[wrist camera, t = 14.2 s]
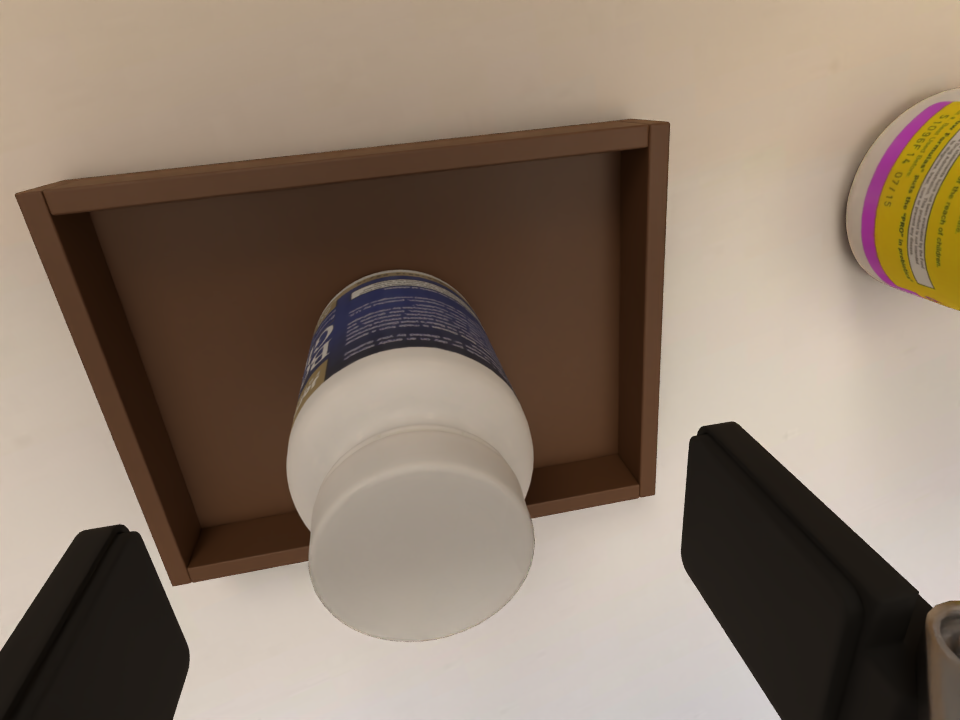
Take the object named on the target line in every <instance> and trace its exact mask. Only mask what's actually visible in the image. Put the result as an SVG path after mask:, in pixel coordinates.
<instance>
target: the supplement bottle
mask: <svg viewBox="0 0 960 720" xmlns="http://www.w3.org/2000/svg"><path fill="white" fill-rule="evenodd" d="M846 228H847V235H848V241H849V244H850V247H851V250H852V252H853V255H854V256H855V258H856V260H857V262H858V263H859V264H860V266H861V267H862V268H863V269H864V270H865V271H866V272H867V273H868V274H869V275H870V276H872V277H873V278H875V279H876V280H878V281H880V282H882V283H884V284H886V285H889V286H891V287H894V288H896V289H899V290H902V291H904V292H907V293H910V294H913V295H916V296H919V297H922V298H924V299H927V300H930V301H933V302H936V303H939V304H941V305H944V306H947V307H949V308H953V309H956V310H959V311H960V88H955V89H951V90H947V91H943V92H941V93H938V94H935V95H933V96H931V97H928V98H926V99H924V100H922V101H921V102H919V103H917V104H916V105H914V106H912V107H911V108H909V109H908V110H906V111H905V112H904V113H902V114H901V115H900V116H899V117H898V118H896V119H895V120H894V121H893V122H892V123H891V124H890V125H889V126H888V127H887V128H886V129H885V130H884V131H883V132H882V133H881V134H880V136H879V137H878V138H877V139H876V141H875V142H874V143H873V145H872V146H871V147H870V149H869V150H868V152H867V153H866V155H865V157H864V159H863V160H862V162H861V164H860V166H859V168H858V171H857V173H856V175H855V178H854V180H853V183H852V186H851V189H850V193H849V197H848V202H847V210H846Z"/></svg>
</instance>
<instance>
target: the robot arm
mask: <svg viewBox="0 0 960 720" xmlns="http://www.w3.org/2000/svg"><path fill="white" fill-rule="evenodd" d="M681 557H682V562H683V565H684V568H685V570H686V572H687V574H688V575H689V577H690V578H691V580H692V581H693V583H694V584H695V586H696V588H697V589H698V591H699V592H700V594H701V595H702V597H703V598H704V600H705V601H706V603H707V605H708V606H709V608H710V609H711V611H712V612H713V614H714V615H715V617H716V619H717V620H718V622H719V623H720V625H721V626H722V628H723V629H724V631H725V633H726V634H727V636H728V637H729V639H730V640H731V642H732V643H733V645H734V646H735V648H736V650H737V651H738V653H739V654H740V656H741V657H742V659H743V660H744V662H745V664H746V665H747V667H748V668H749V670H750V671H751V673H752V674H753V676H754V678H755V679H756V681H757V682H758V684H759V685H760V687H761V688H762V690H763V691H764V693H765V695H766V696H767V698H768V699H769V701H770V702H771V704H772V705H773V707H774V709H775V710H776V712H777V713H778V715H779V716H780V718H781V719H782V720H960V601H948V602H945V603H941V604H938V605H936V606H935V607H934V608H933V607H932V606H930V605H929V604H928V603H927V602H926V601H925V600H924V599H923V598H922V597H921V596H920V595H919V591H918V590H917V589H915V588H914V587H913V586H912V585H911V584H910V583H909V582H908V581H907V580H906V579H905V578H904V577H903V576H901V575H900V574H899V573H898V572H897V571H896V570H895V569H894V568H893V567H892V566H891V565H890V564H889V563H887V562H886V561H885V560H884V559H883V558H882V557H881V556H880V555H879V554H878V553H877V552H876V551H875V550H873V549H872V548H871V547H870V546H869V545H868V544H867V543H866V542H865V541H864V540H863V539H862V538H860V537H859V536H858V535H857V534H856V533H855V532H854V531H853V530H852V529H851V528H850V527H849V526H848V525H846V524H845V523H844V522H843V521H842V520H841V519H840V518H839V517H838V516H837V515H836V514H835V513H834V512H832V511H831V510H830V509H829V508H828V507H827V506H826V505H825V504H824V503H823V502H822V501H821V500H820V499H818V498H817V497H816V496H815V495H814V494H813V493H812V492H811V491H810V490H809V489H808V488H807V487H806V486H804V485H803V484H802V483H801V482H800V481H799V480H798V479H797V478H796V477H795V476H794V475H793V474H792V473H790V472H789V471H788V470H787V469H786V468H785V467H784V466H783V465H782V464H781V463H780V462H779V461H777V460H776V459H775V458H774V457H773V456H772V455H771V454H770V453H769V452H768V451H767V450H766V449H765V448H763V447H762V446H761V445H760V444H759V443H758V442H757V441H756V440H755V439H754V438H753V437H752V436H751V435H749V434H748V433H747V432H746V431H745V430H744V429H743V428H742V427H741V426H740V425H739V424H737V423H736V422H725V423H720V424H714V425H708V426H703V427H701V428H700V429H699V431H698V433H697V436H693V437H691V439H690V442H689V452H688V465H687V478H686V491H685V504H684V517H683V530H682V543H681ZM189 661H190V654H189V648H188V645H187V642H186V640H185V638H184V635H183V633H182V631H181V628H180V626H179V624H178V621H177V619H176V616H175V614H174V612H173V609H172V607H171V605H170V602H169V600H168V598H167V595H166V593H165V591H164V588H163V586H162V584H161V581H160V579H159V577H158V574H157V572H156V570H155V567H154V565H153V563H152V560H151V558H150V556H149V553H148V551H147V549H146V546H145V544H144V541H143V539H142V537H141V535H140V534H139V533H138V532H136V531H132V532H130V531H129V530H128V528H127V527H125V526H124V525H120V524H119V525H113V526H107V527H101V528H95V529H89V530H84V531H82V532H80V533H79V534H78V535H77V536H76V537H75V538H74V540H73V542H72V543H71V545H70V546H69V548H68V549H67V551H66V552H65V554H64V555H63V557H62V558H61V560H60V561H59V563H58V564H57V566H56V567H55V569H54V570H53V572H52V573H51V575H50V577H49V578H48V580H47V581H46V583H45V584H44V586H43V587H42V589H41V590H40V592H39V593H38V595H37V596H36V598H35V599H34V601H33V602H32V604H31V605H30V607H29V609H28V610H27V612H26V613H25V615H24V616H23V618H22V619H21V621H20V622H19V624H18V625H17V627H16V628H15V630H14V631H13V633H12V634H11V636H10V637H9V639H8V641H7V642H6V644H5V645H4V647H3V648H2V650H1V651H0V720H173V717H174V714H175V711H176V707H177V704H178V701H179V698H180V695H181V691H182V688H183V685H184V682H185V679H186V676H187V672H188V668H189Z"/></svg>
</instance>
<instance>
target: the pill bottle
mask: <svg viewBox="0 0 960 720" xmlns="http://www.w3.org/2000/svg"><path fill="white" fill-rule="evenodd" d="M533 461H534V455H533V444H532V438H531V434H530V430H529V426H528V422H527V420H526V417H525V415H524V412H523V410H522V408H521V405H520V402H519V400H518V398H517V396H516V394H515V392H514V390H513V388H512V386H511V384H510V382H509V380H508V378H507V376H506V374H505V372H504V370H503V368H502V366H501V364H500V362H499V360H498V358H497V356H496V354H495V352H494V349H493V347H492V345H491V343H490V341H489V339H488V337H487V335H486V333H485V331H484V329H483V327H482V325H481V323H480V321H479V319H478V317H477V315H476V313H475V312H474V310H473V309H472V307H471V306H470V305H469V303H468V302H467V301H466V299H465V298H464V297H463V296H462V295H461V294H460V293H459V292H458V291H457V290H455V289H454V288H453V287H452V286H450V285H449V284H447V283H446V282H444V281H442V280H440V279H438V278H436V277H434V276H432V275H429V274H425V273H422V272H417V271H411V270H388V271H382V272H378V273H374V274H371V275H368V276H365V277H363V278H361V279H359V280H357V281H355V282H353V283H352V284H350V285H348V286H347V287H345V288H344V289H343V290H342V291H341V292H339V293H338V294H337V295H336V296H335V297H334V298H333V299H332V300H331V301H330V303H329V304H328V305H327V307H326V308H325V310H324V311H323V313H322V315H321V317H320V319H319V321H318V323H317V326H316V328H315V331H314V334H313V338H312V341H311V345H310V349H309V354H308V358H307V362H306V367H305V371H304V375H303V379H302V384H301V388H300V393H299V397H298V402H297V406H296V411H295V415H294V419H293V424H292V428H291V432H290V436H289V442H288V452H287V464H286V469H287V480H288V485H289V490H290V494H291V497H292V500H293V502H294V505H295V507H296V509H297V511H298V513H299V515H300V517H301V519H302V520H303V522H304V524H305V525H306V527H307V528H308V529H309V530H310V532H311V536H310V545H309V573H310V577H311V581H312V584H313V587H314V589H315V592H316V593H317V595H318V597H319V599H320V600H321V602H322V603H323V604H324V606H325V607H326V608H327V609H328V610H329V611H330V612H331V613H332V614H333V616H335V617H336V618H337V619H338V620H339V621H341V622H342V623H344V624H345V625H347V626H348V627H350V628H352V629H354V630H356V631H358V632H361V633H363V634H366V635H369V636H372V637H375V638H380V639H384V640H390V641H403V642H414V641H429V640H435V639H440V638H444V637H448V636H451V635H454V634H457V633H460V632H463V631H465V630H468V629H470V628H472V627H474V626H476V625H478V624H480V623H481V622H483V621H485V620H486V619H488V618H489V617H491V616H492V615H494V614H495V613H496V612H498V611H499V610H500V609H501V608H502V607H504V606H505V605H506V604H507V603H508V602H509V601H510V600H511V599H512V597H513V596H514V595H515V594H516V592H517V591H518V590H519V589H520V587H521V585H522V584H523V582H524V580H525V578H526V577H527V574H528V572H529V569H530V566H531V563H532V559H533V554H534V544H535V539H534V529H533V525H532V520H531V518H530V515H529V512H528V509H527V506H526V503H525V500H524V499H525V497H526V495H527V492H528V489H529V486H530V482H531V477H532V472H533Z"/></svg>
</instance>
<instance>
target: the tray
mask: <svg viewBox="0 0 960 720" xmlns="http://www.w3.org/2000/svg"><path fill="white" fill-rule="evenodd" d="M669 136H670V123H669V122H664V121H651V120H637V119H627V120H618V121H608V122H599V123H590V124H580V125H571V126H562V127H553V128H543V129H534V130H525V131H516V132H506V133H497V134H488V135H479V136H469V137H460V138H451V139H441V140H432V141H423V142H414V143H404V144H395V145H386V146H377V147H367V148H358V149H349V150H340V151H330V152H321V153H312V154H303V155H293V156H284V157H275V158H265V159H256V160H247V161H238V162H228V163H219V164H210V165H201V166H191V167H182V168H173V169H164V170H154V171H145V172H136V173H127V174H117V175H108V176H99V177H89V178H80V179H71V180H63V181H59V182H56V183H52V184H48V185H44V186H41V187H37V188H33V189H30V190H26V191H22V192H19V193H16V194H15V197H16V199H17V202H18V204H19V207H20V209H21V212H22V214H23V217H24V219H25V222H26V224H27V227H28V229H29V231H30V234H31V236H32V239H33V241H34V244H35V246H36V249H37V251H38V254H39V256H40V259H41V261H42V264H43V266H44V269H45V271H46V274H47V276H48V279H49V281H50V284H51V286H52V289H53V291H54V294H55V296H56V298H57V301H58V303H59V306H60V308H61V311H62V313H63V316H64V318H65V321H66V323H67V326H68V328H69V331H70V333H71V336H72V338H73V341H74V343H75V346H76V348H77V351H78V353H79V356H80V358H81V360H82V363H83V365H84V368H85V370H86V373H87V375H88V378H89V380H90V383H91V385H92V388H93V390H94V393H95V395H96V398H97V400H98V403H99V405H100V408H101V410H102V413H103V415H104V418H105V420H106V422H107V425H108V427H109V430H110V432H111V435H112V437H113V440H114V442H115V445H116V447H117V450H118V452H119V455H120V457H121V460H122V462H123V465H124V467H125V470H126V472H127V475H128V477H129V480H130V482H131V484H132V487H133V489H134V492H135V494H136V497H137V499H138V502H139V504H140V507H141V509H142V512H143V514H144V517H145V519H146V522H147V524H148V527H149V529H150V532H151V534H152V537H153V539H154V542H155V544H156V547H157V549H158V551H159V554H160V556H161V559H162V561H163V564H164V566H165V569H166V571H167V574H168V576H169V579H170V581H171V584H172V586H178V585H183V584H188V583H191V582H193V583H194V582H199V581H204V580H209V579H215V578H220V577H225V576H231V575H236V574H241V573H246V572H252V571H257V570H262V569H268V568H273V567H278V566H283V565H289V564H294V563H299V562H304V561H309V545H310V536H311V532H310V530H309V529H308V528H307V527H306V525H305V524H304V522H303V520H302V519H301V517H300V515H299V513H298V511H297V509H296V507H295V505H294V502H293V500H292V497H291V494H290V490H289V485H288V480H287V469H286V464H287V452H288V442H289V436H290V432H291V428H292V424H293V419H294V415H295V411H296V406H297V402H298V397H299V393H300V388H301V384H302V379H303V375H304V371H305V367H306V362H307V358H308V354H309V349H310V345H311V341H312V338H313V334H314V331H315V328H316V326H317V323H318V321H319V319H320V317H321V315H322V313H323V311H324V310H325V308H326V307H327V305H328V304H329V303H330V301H331V300H332V299H333V298H334V297H335V296H336V295H337V294H338V293H339V292H341V291H342V290H343V289H344V288H345V287H347V286H348V285H350V284H352V283H353V282H355V281H357V280H359V279H361V278H363V277H365V276H368V275H371V274H374V273H378V272H382V271H388V270H411V271H417V272H422V273H425V274H429V275H432V276H434V277H436V278H438V279H440V280H442V281H444V282H446V283H447V284H449V285H450V286H452V287H453V288H454V289H455V290H457V291H458V292H459V293H460V294H461V295H462V296H463V297H464V298H465V299H466V301H467V302H468V303H469V305H470V306H471V307H472V309H473V310H474V312H475V313H476V315H477V317H478V319H479V321H480V323H481V325H482V327H483V329H484V331H485V333H486V335H487V337H488V339H489V341H490V343H491V345H492V347H493V349H494V352H495V354H496V356H497V358H498V360H499V362H500V364H501V366H502V368H503V370H504V372H505V374H506V376H507V378H508V380H509V382H510V384H511V386H512V388H513V390H514V392H515V394H516V396H517V398H518V400H519V402H520V405H521V408H522V410H523V412H524V415H525V417H526V420H527V422H528V426H529V430H530V434H531V438H532V444H533V455H534V461H533V472H532V477H531V482H530V486H529V489H528V492H527V495H526V497H525V499H524V500H525V503H526V506H527V509H528V512H529V515H530V518H537V517H542V516H547V515H552V514H558V513H563V512H568V511H573V510H579V509H584V508H589V507H595V506H600V505H605V504H610V503H616V502H621V501H626V500H631V499H637V498H639V497H646V496H651V495H655V483H656V458H657V434H658V409H659V384H660V359H661V334H662V310H663V285H664V260H665V235H666V210H667V186H668V161H669Z"/></svg>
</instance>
